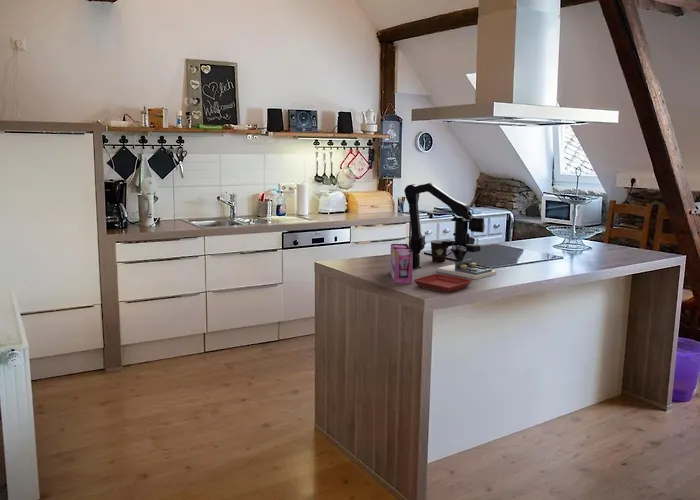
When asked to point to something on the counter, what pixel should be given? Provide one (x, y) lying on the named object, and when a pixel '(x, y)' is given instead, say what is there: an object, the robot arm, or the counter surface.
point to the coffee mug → (438, 251)
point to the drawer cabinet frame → (469, 269)
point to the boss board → (451, 270)
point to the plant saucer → (442, 282)
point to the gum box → (401, 263)
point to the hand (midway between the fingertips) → (459, 264)
